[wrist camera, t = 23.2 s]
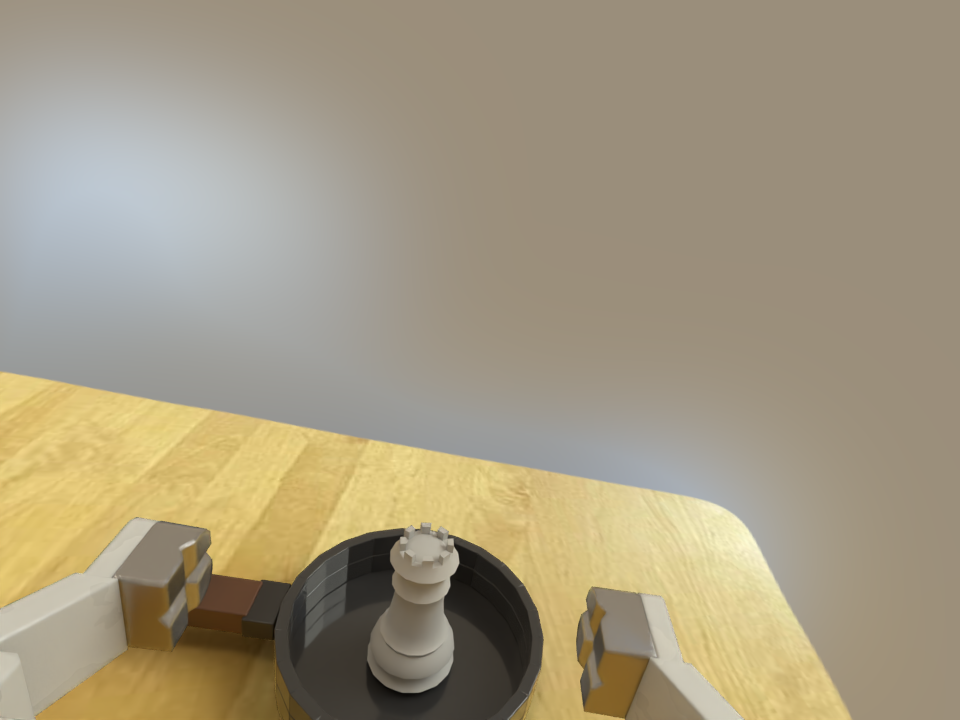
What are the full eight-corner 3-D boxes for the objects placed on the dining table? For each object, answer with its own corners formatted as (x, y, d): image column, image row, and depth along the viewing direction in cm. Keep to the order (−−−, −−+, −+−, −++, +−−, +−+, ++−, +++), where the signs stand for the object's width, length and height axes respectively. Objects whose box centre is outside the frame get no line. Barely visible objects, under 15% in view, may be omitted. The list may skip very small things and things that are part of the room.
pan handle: (291, 601, 31) (291, 581, 31) (273, 643, 29) (273, 622, 28) (106, 574, 31) (103, 554, 31) (73, 614, 29) (69, 593, 28)
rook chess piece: (377, 616, 33) (390, 502, 29) (457, 630, 33) (478, 517, 29) (355, 691, 29) (367, 568, 25) (446, 707, 29) (470, 586, 25)
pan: (221, 658, 30) (218, 613, 28) (409, 537, 39) (414, 499, 38) (403, 879, 23) (412, 832, 21) (577, 665, 32) (591, 624, 31)
